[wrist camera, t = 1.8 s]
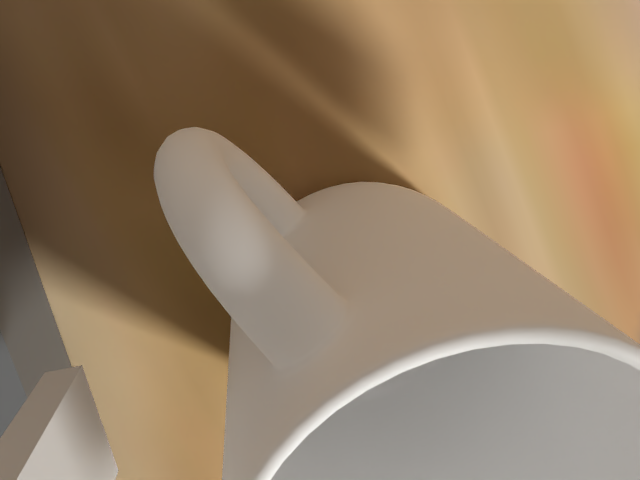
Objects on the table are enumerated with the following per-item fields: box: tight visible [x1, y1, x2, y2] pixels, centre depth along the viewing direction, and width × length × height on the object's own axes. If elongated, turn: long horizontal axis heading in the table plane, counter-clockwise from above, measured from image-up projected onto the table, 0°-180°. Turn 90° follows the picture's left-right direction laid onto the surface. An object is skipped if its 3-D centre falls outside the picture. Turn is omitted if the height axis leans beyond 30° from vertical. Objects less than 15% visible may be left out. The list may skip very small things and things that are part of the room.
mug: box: [154, 127, 640, 480], centre depth 13 cm, size 12×8×10 cm
